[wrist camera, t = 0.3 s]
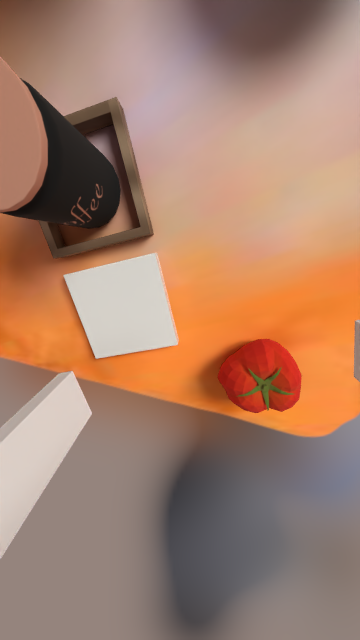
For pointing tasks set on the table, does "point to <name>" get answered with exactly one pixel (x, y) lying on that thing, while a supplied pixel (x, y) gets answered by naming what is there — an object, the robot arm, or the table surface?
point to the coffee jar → (49, 162)
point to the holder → (114, 114)
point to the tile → (124, 306)
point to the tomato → (261, 377)
